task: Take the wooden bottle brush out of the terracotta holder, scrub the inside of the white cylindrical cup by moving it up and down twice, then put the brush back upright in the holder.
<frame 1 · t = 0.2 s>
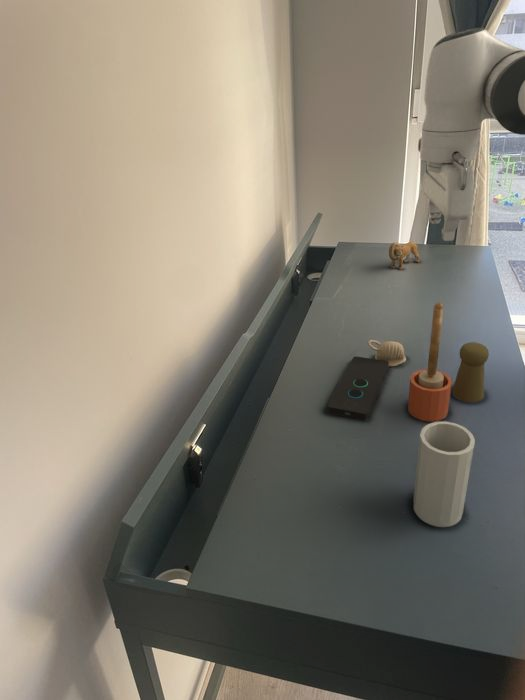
hand: (440, 230, 92), 33 cm above the table, tool pointing down, fingers open, 8 cm apart
white cylindrical cup: (437, 508, 81), on the table
lion figurine: (403, 266, 166), on the table
brush holder: (427, 409, 102), on the table
bottle brush: (428, 406, 102), point 1 cm above the table, touching brush holder
decorative ornament: (387, 361, 118), on the table
smart home device: (359, 389, 110), on the table
olive pepper mill: (467, 394, 106), on the table
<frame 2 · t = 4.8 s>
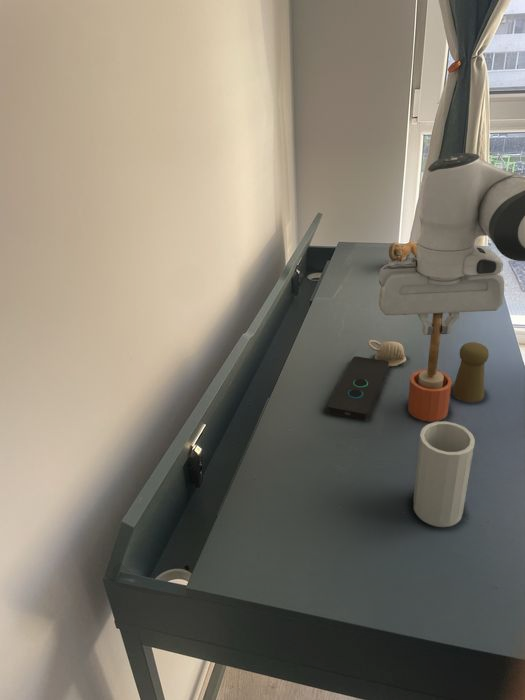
hand: (436, 333, 93), 17 cm above the table, tool pointing down, fingers closed on bottle brush
bottle brush: (428, 406, 102), point 1 cm above the table, touching brush holder, gripper
everything else where it was.
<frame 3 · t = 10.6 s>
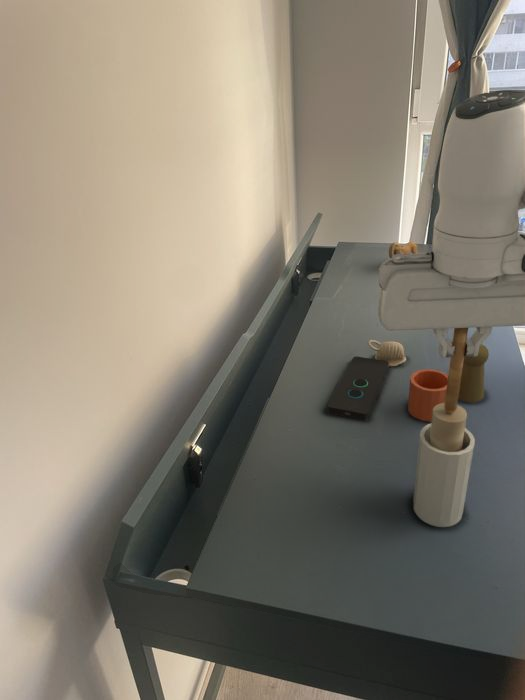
hand: (457, 354, 67), 27 cm above the table, tool pointing down, fingers closed on bottle brush
bottle brush: (444, 451, 75), point 11 cm above the table, touching gripper
everything else where it was.
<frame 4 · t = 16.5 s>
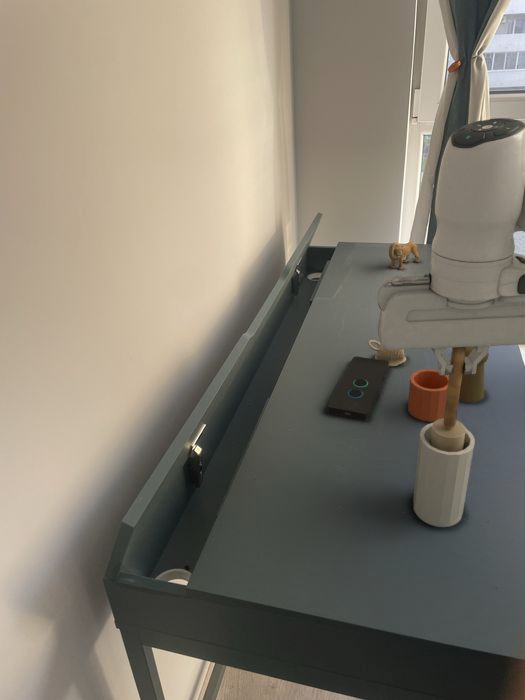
hand: (456, 372, 68), 25 cm above the table, tool pointing down, fingers closed on bottle brush
bottle brush: (444, 465, 76), point 9 cm above the table, touching gripper
everything else where it was.
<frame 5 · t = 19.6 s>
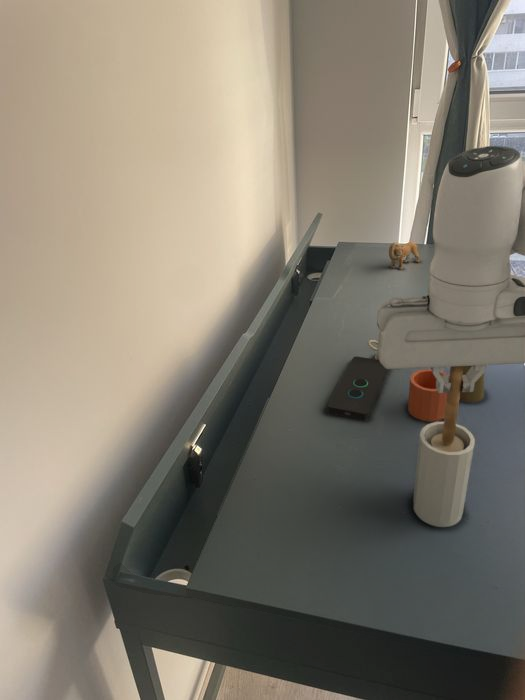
hand: (454, 390, 70), 22 cm above the table, tool pointing down, fingers closed on bottle brush
bottle brush: (442, 479, 78), point 6 cm above the table, touching gripper
everything else where it was.
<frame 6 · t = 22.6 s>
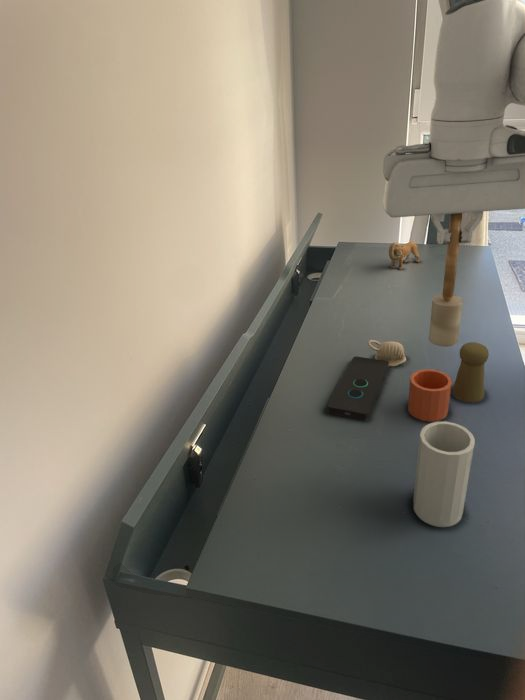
hand: (453, 242, 76), 37 cm above the table, tool pointing down, fingers closed on bottle brush
bottle brush: (443, 339, 84), point 21 cm above the table, touching gripper
everything else where it was.
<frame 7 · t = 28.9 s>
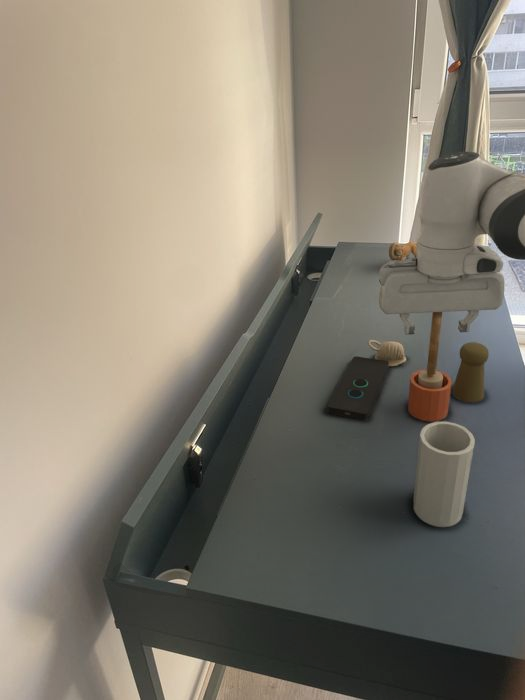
hand: (436, 332, 93), 17 cm above the table, tool pointing down, fingers open, 8 cm apart
bottle brush: (427, 406, 102), point 1 cm above the table, touching brush holder
everything else where it was.
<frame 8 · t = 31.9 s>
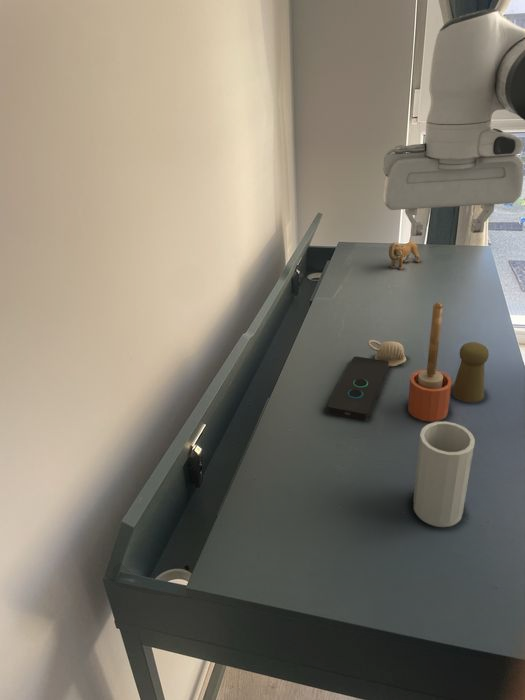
hand: (446, 233, 84), 35 cm above the table, tool pointing down, fingers open, 8 cm apart
nothing on the table moved.
at the end: bottle brush 0.1 cm off-centre in the brush holder, point 0.8 cm above the brush holder's base; bottle brush tilted 0°; bottle brush touching brush holder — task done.
